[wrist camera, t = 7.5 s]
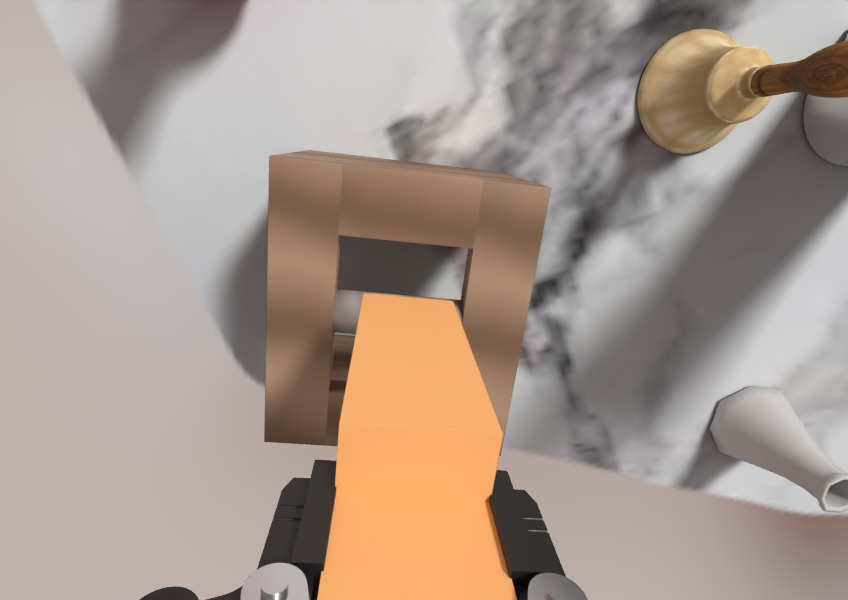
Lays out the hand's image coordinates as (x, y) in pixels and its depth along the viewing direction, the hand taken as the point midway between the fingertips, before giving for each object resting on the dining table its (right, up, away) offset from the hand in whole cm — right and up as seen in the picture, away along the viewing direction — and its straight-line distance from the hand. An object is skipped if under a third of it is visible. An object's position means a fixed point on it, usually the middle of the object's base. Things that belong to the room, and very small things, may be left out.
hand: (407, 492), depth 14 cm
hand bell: (+20, +20, +22) cm, 36 cm away
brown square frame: (-2, +8, +24) cm, 25 cm away
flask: (+30, -5, +31) cm, 43 cm away
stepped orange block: (-1, +3, +9) cm, 9 cm away
